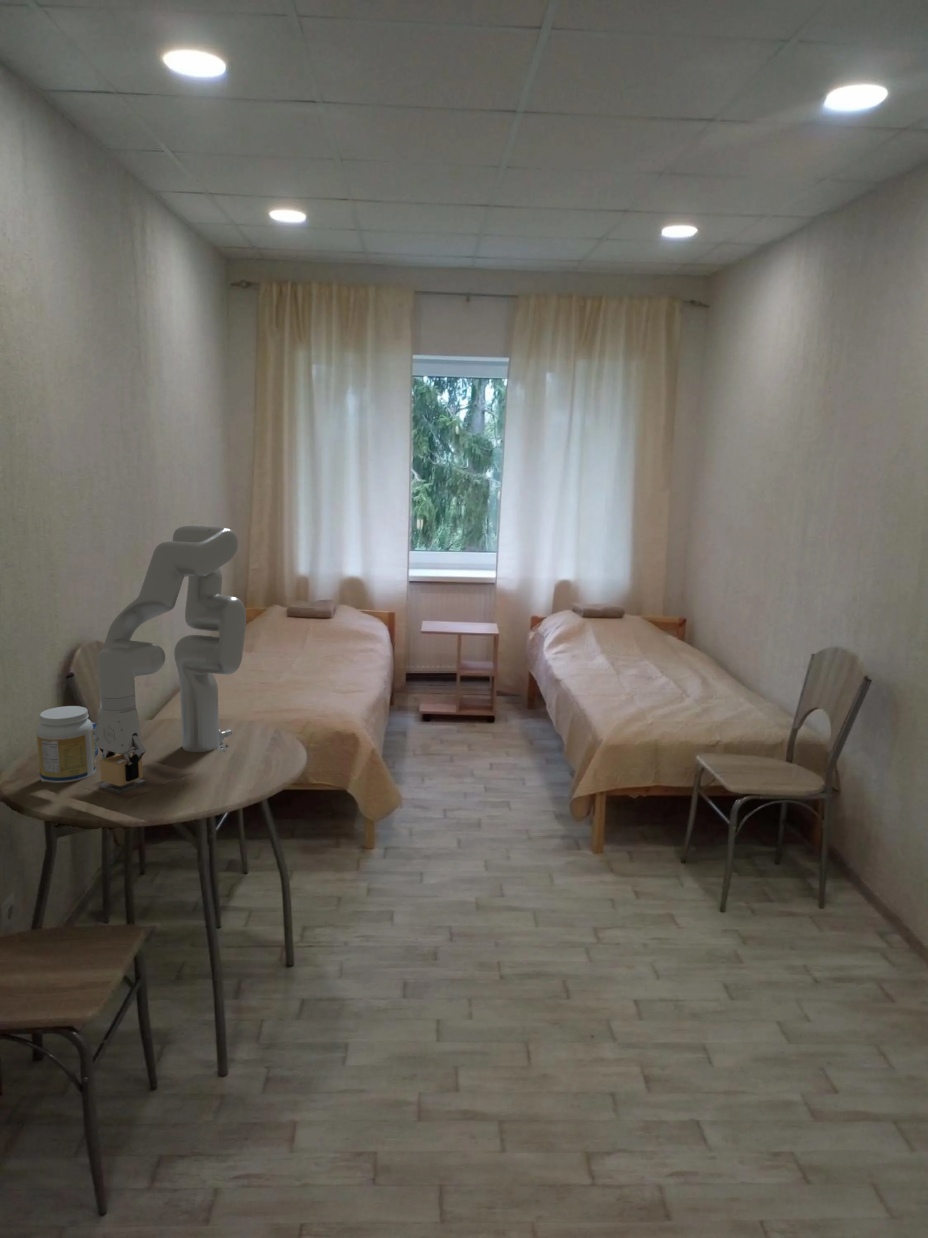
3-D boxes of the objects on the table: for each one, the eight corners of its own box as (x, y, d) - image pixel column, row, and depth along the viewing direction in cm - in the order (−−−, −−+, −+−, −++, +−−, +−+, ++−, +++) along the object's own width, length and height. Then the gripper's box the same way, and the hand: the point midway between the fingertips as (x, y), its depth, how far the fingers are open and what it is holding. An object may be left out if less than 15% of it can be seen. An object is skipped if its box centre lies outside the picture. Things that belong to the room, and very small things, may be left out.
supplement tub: (58, 769, 206) (53, 703, 203) (105, 771, 205) (101, 705, 202) (29, 787, 194) (24, 718, 191) (80, 789, 193) (75, 720, 190)
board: (153, 767, 208) (153, 761, 208) (193, 778, 202) (193, 772, 201) (84, 793, 191) (83, 787, 191) (125, 806, 184) (125, 800, 184)
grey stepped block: (124, 778, 196) (123, 754, 195) (145, 784, 193) (144, 760, 192) (98, 788, 190) (97, 763, 189) (120, 794, 187) (118, 769, 186)
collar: (124, 772, 196) (123, 752, 195) (142, 777, 193) (141, 757, 192) (101, 780, 190) (99, 760, 189) (119, 786, 187) (118, 765, 186)
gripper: (78, 700, 189) (83, 774, 192) (130, 712, 181) (134, 789, 184) (106, 692, 195) (110, 764, 199) (157, 703, 187) (161, 778, 190)
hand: (122, 776), depth 191 cm, fingers closed on collar, 6 cm apart
